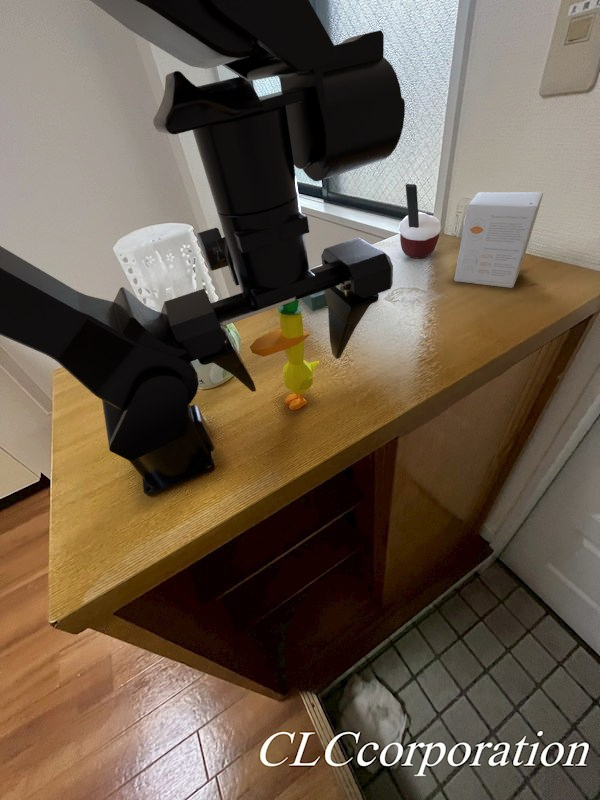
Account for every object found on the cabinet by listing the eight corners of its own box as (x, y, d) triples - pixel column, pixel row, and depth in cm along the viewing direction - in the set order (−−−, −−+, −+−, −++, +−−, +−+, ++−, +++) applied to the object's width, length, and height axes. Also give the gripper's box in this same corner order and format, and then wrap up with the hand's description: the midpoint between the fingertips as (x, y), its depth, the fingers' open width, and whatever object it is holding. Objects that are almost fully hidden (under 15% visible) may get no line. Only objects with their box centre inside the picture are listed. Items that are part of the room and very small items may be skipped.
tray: (312, 311, 50) (311, 298, 49) (291, 288, 56) (289, 276, 55) (379, 289, 52) (379, 276, 51) (352, 269, 58) (351, 257, 57)
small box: (519, 272, 50) (545, 191, 43) (513, 289, 47) (539, 205, 40) (462, 266, 54) (477, 190, 47) (452, 281, 51) (467, 203, 44)
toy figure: (273, 425, 35) (251, 321, 27) (259, 405, 37) (235, 304, 29) (330, 400, 37) (325, 296, 28) (313, 382, 39) (304, 281, 31)
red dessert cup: (423, 242, 63) (432, 165, 54) (449, 251, 58) (464, 169, 50) (382, 258, 60) (384, 179, 52) (406, 269, 56) (414, 185, 48)
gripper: (329, 153, 31) (341, 308, 41) (121, 212, 28) (193, 362, 38) (400, 172, 23) (393, 356, 34) (122, 256, 20) (212, 428, 31)
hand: (295, 372), depth 34 cm, fingers open, 9 cm apart
